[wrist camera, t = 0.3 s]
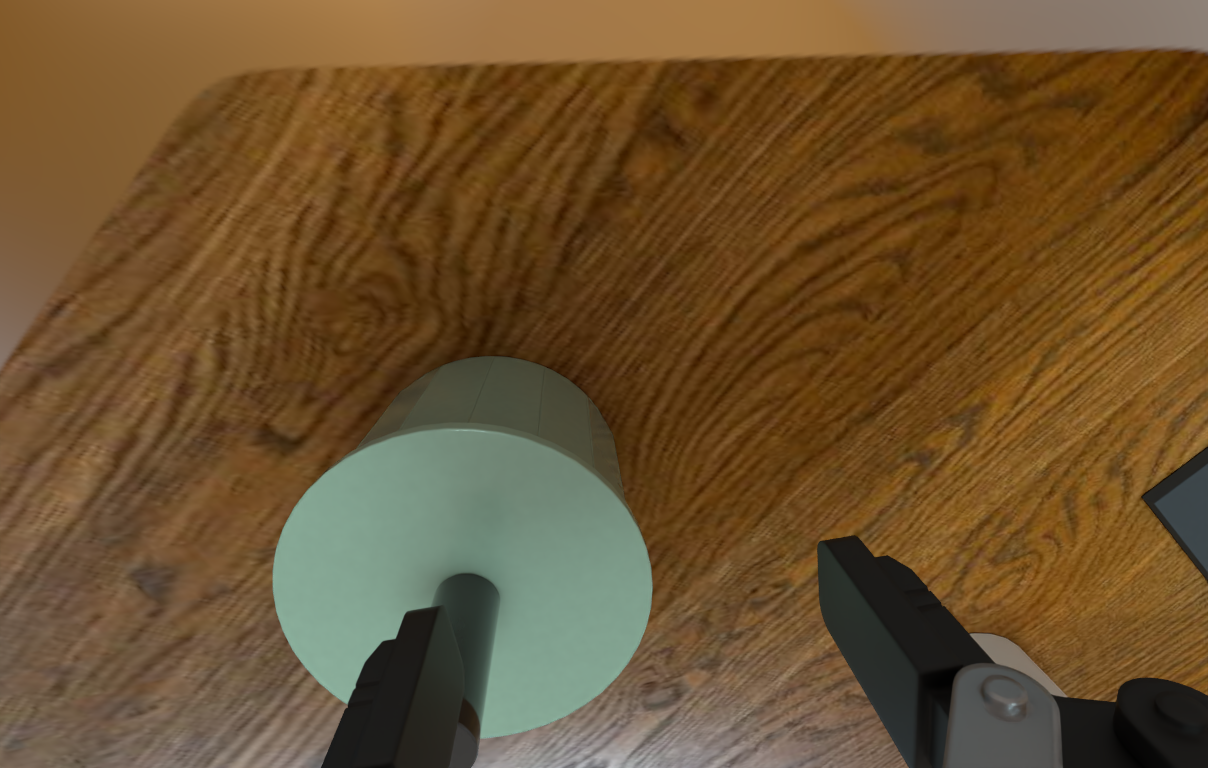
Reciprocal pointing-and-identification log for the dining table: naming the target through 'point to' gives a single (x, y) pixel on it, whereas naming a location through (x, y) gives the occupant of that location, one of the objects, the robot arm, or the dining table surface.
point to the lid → (469, 570)
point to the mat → (1185, 508)
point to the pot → (507, 407)
